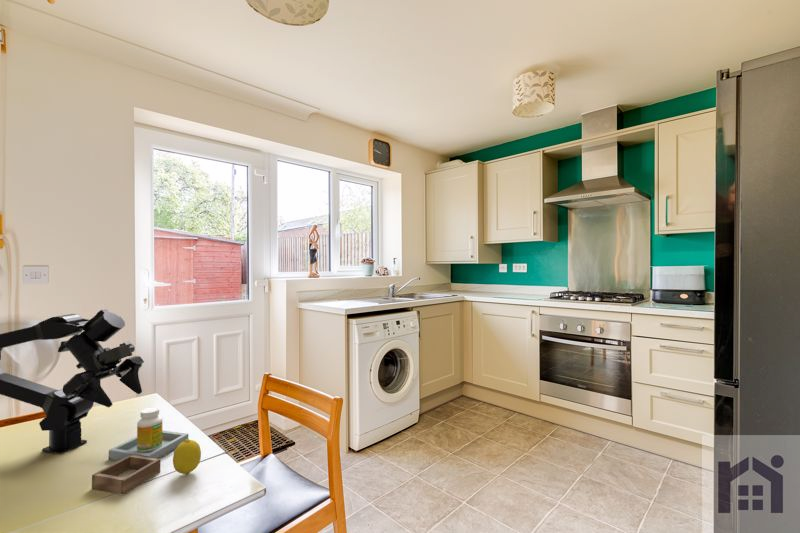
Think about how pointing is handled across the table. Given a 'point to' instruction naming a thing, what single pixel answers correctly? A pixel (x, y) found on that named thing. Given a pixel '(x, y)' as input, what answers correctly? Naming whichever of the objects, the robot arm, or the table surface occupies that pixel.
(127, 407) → the table surface
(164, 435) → the parts tray
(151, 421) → the supplement bottle
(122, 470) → the brown wooden open box
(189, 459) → the lemon
